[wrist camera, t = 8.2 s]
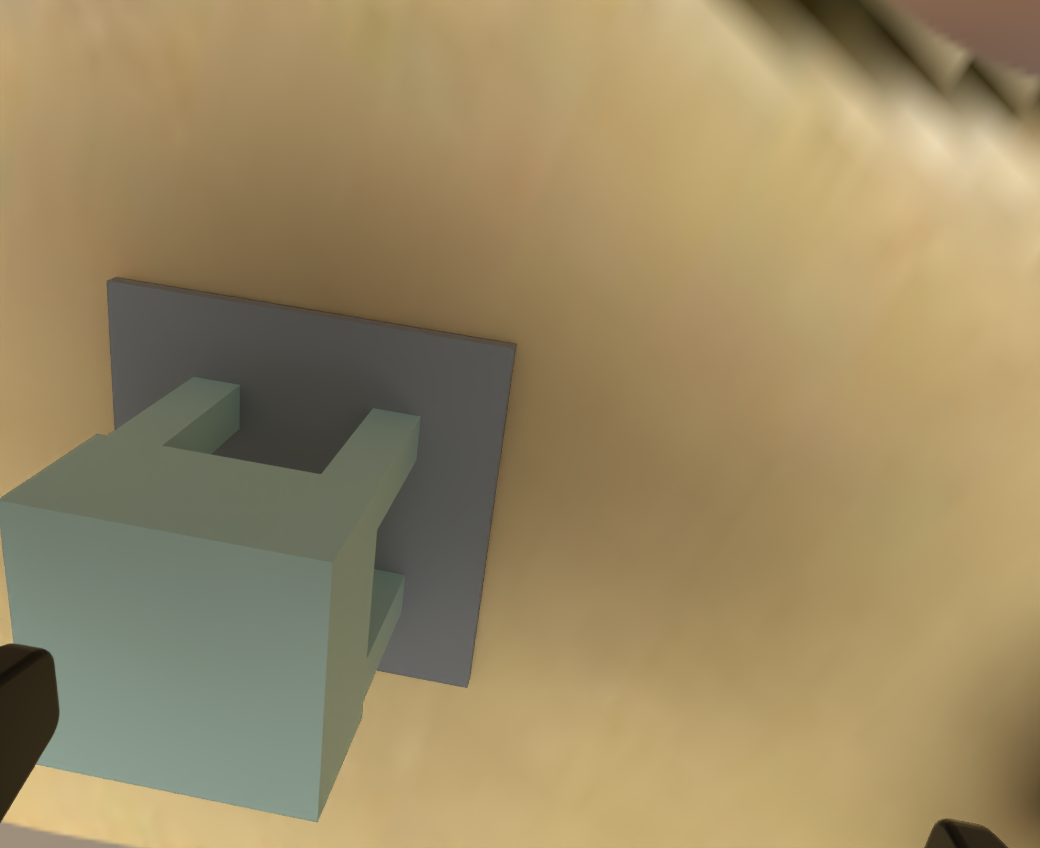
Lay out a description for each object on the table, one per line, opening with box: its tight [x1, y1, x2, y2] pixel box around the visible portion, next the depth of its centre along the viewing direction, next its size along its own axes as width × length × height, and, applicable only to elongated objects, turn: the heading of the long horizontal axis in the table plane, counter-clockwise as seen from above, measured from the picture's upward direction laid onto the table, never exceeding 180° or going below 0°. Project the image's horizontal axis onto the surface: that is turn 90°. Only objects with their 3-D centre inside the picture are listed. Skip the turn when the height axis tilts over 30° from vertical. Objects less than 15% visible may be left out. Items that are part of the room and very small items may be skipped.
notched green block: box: [0, 377, 421, 822], centre depth 19 cm, size 6×6×7 cm
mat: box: [107, 277, 516, 688], centre depth 22 cm, size 10×10×1 cm
